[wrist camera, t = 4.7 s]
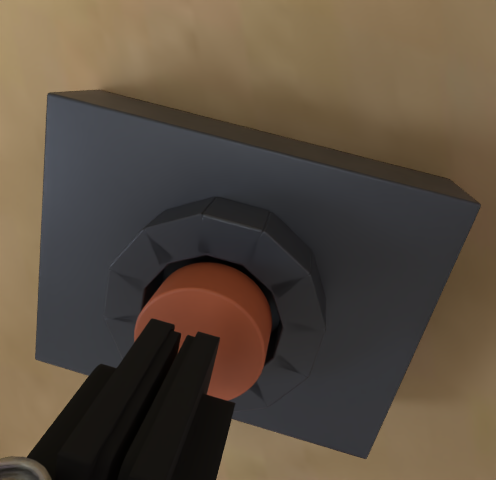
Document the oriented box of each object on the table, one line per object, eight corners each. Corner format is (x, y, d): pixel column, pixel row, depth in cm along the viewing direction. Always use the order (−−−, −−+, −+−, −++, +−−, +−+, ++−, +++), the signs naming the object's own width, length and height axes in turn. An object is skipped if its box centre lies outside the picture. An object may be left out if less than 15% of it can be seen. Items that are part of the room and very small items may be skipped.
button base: (451, 179, 15) (508, 224, 10) (360, 400, 19) (372, 506, 14) (97, 88, 16) (5, 94, 11) (77, 317, 20) (2, 391, 15)
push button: (286, 280, 12) (280, 310, 11) (256, 379, 14) (248, 420, 12) (165, 246, 13) (141, 271, 11) (148, 347, 14) (125, 383, 12)
